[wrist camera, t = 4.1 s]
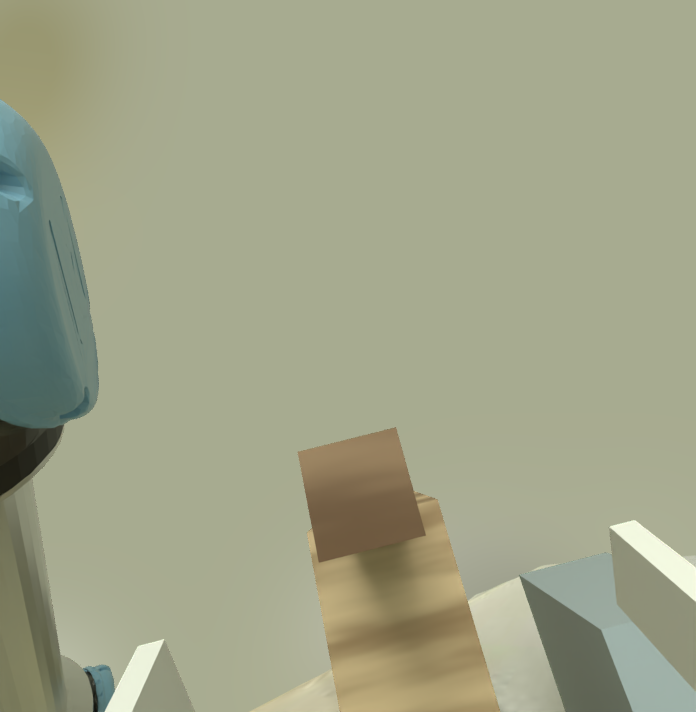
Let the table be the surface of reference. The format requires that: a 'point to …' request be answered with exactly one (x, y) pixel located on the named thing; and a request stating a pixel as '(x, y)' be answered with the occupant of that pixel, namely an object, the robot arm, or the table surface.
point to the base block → (599, 643)
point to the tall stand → (403, 626)
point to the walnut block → (359, 495)
